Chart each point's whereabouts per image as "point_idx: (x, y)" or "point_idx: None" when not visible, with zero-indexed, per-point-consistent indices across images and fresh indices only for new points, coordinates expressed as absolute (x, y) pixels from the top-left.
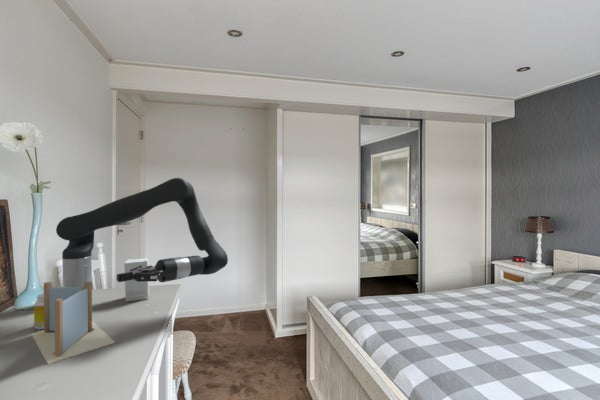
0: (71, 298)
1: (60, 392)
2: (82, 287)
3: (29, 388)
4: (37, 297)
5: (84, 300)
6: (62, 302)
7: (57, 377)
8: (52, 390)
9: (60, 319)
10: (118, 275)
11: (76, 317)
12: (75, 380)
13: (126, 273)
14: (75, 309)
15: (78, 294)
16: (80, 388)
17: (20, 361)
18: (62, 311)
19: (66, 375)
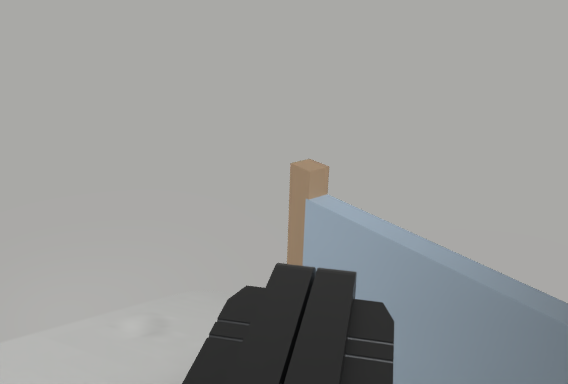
0: (375, 230)
1: (55, 333)
2: None
3: (168, 311)
4: None
5: (508, 376)
6: (306, 190)
7: (144, 356)
8: (90, 328)
9: (291, 260)
10: (295, 267)
11: (399, 382)
12: (62, 371)
13: (270, 334)
14: (395, 327)
15: (442, 264)
16: (3, 360)
17: None
18: (303, 235)
19: (125, 371)
